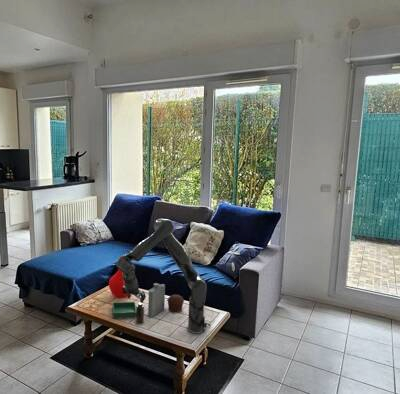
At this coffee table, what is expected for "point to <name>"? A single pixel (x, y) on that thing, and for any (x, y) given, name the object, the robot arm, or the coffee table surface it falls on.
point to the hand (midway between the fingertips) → (135, 299)
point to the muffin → (175, 303)
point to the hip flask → (156, 299)
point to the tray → (124, 310)
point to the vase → (117, 284)
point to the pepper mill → (140, 313)
